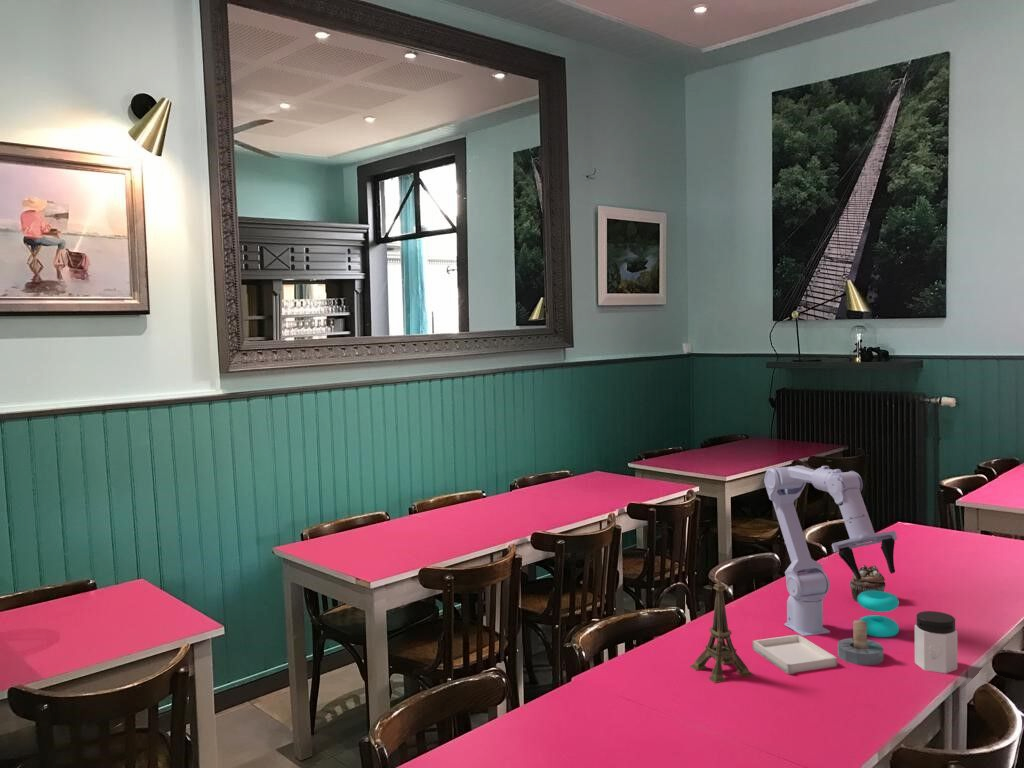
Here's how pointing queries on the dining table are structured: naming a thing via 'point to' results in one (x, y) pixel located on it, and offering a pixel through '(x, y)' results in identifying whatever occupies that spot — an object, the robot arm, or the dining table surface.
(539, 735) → the dining table surface
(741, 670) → the eiffel tower
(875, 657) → the grey faceted ashtray
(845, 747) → the dining table surface
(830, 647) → the dining table surface
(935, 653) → the jar
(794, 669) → the tray
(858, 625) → the pin
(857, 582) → the cupcake
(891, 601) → the donuts
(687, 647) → the dining table surface
